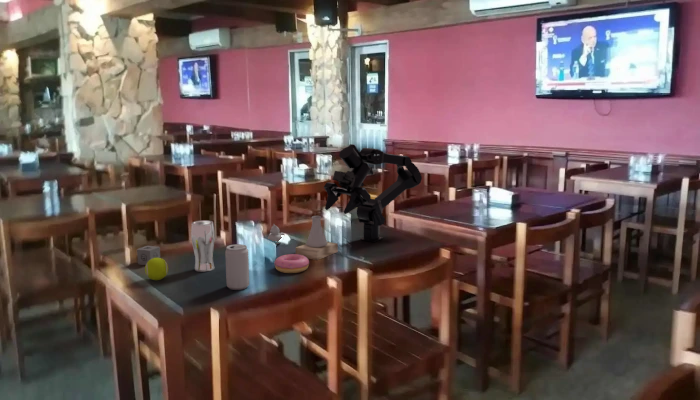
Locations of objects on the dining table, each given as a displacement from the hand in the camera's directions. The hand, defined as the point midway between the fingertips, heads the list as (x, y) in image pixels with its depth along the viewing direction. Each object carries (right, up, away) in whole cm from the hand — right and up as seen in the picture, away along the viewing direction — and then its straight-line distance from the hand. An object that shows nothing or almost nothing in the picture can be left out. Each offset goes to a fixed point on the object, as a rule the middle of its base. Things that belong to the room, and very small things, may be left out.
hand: (335, 211), depth 207 cm
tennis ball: (-52, -20, -30) cm, 64 cm away
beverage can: (-27, -21, -37) cm, 50 cm away
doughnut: (-13, -18, -20) cm, 30 cm away
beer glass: (-41, -18, -20) cm, 49 cm away
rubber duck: (-22, -12, +10) cm, 27 cm away
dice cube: (-60, -17, -13) cm, 64 cm away
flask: (-6, -12, -4) cm, 14 cm away
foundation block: (-6, -15, -4) cm, 16 cm away
